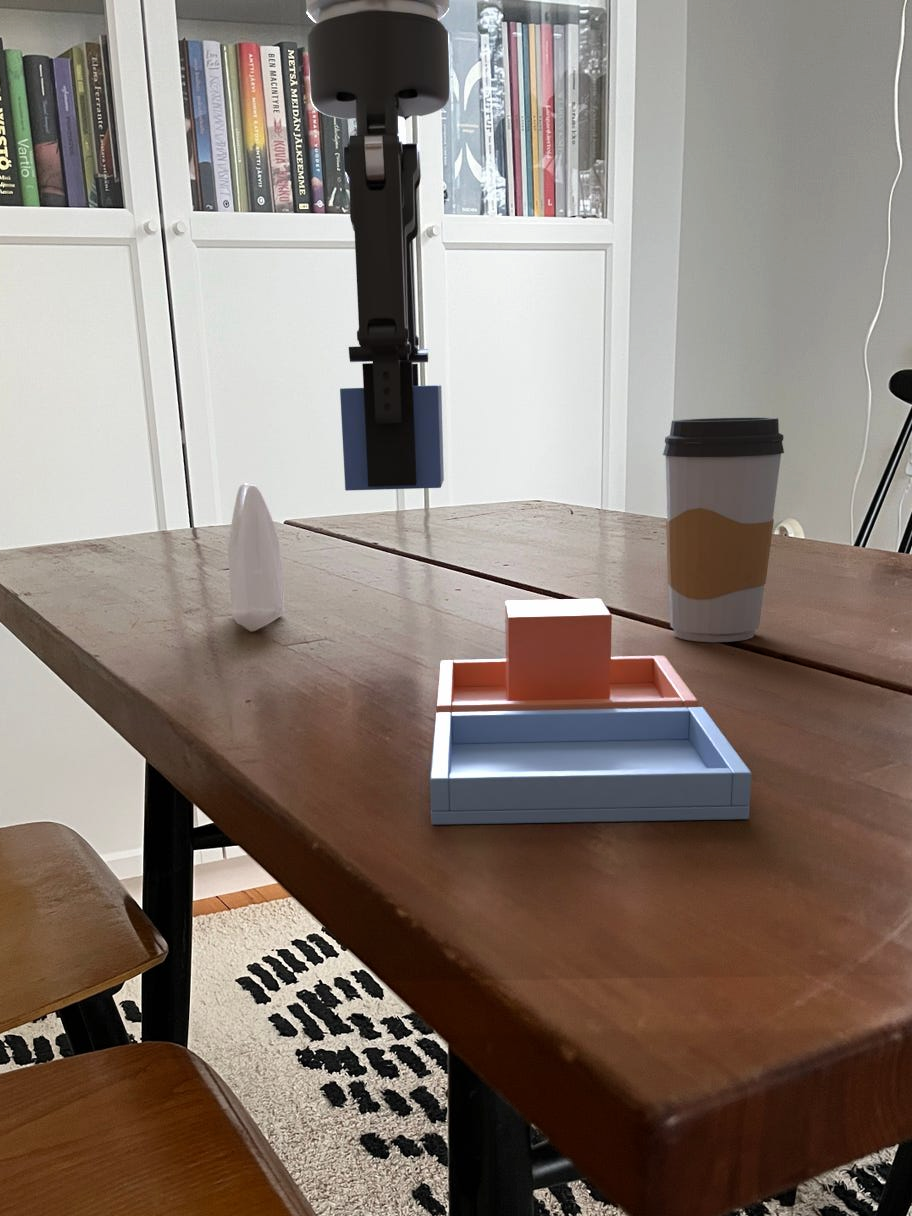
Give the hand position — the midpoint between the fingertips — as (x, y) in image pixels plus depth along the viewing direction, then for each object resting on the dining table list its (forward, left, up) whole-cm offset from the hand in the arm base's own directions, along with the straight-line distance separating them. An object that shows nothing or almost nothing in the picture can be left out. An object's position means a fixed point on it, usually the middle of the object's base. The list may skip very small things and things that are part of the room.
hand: (396, 480), depth 74 cm
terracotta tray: (-9, +7, -13) cm, 17 cm away
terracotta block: (-9, +7, -12) cm, 17 cm away
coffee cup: (-22, -16, -13) cm, 30 cm away
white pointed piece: (+13, -25, -13) cm, 31 cm away
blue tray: (-9, +20, -13) cm, 26 cm away
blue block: (0, 0, 0) cm, 0 cm away
